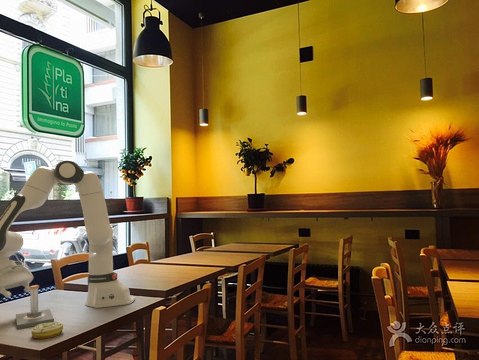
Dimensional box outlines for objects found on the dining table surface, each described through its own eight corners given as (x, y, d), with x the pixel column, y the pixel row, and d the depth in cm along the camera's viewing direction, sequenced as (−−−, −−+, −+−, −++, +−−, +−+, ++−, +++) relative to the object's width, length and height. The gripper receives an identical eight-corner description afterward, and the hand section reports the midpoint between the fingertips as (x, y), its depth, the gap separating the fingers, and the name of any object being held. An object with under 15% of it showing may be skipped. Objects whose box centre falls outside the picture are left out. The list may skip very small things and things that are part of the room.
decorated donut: (55, 328, 150) (55, 318, 150) (68, 333, 143) (68, 323, 143) (26, 336, 142) (26, 325, 142) (39, 342, 135) (39, 331, 135)
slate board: (15, 317, 165) (15, 314, 165) (49, 312, 172) (49, 308, 172) (17, 329, 150) (17, 324, 150) (54, 322, 157) (54, 318, 157)
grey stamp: (27, 317, 160) (26, 286, 161) (34, 314, 163) (34, 284, 164) (34, 317, 159) (34, 287, 159) (41, 315, 162) (41, 285, 163)
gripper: (-17, 268, 157) (0, 294, 154) (25, 261, 177) (42, 283, 173) (-25, 279, 158) (-8, 305, 155) (18, 270, 178) (34, 293, 174)
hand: (19, 293), depth 164 cm, fingers open, 8 cm apart
